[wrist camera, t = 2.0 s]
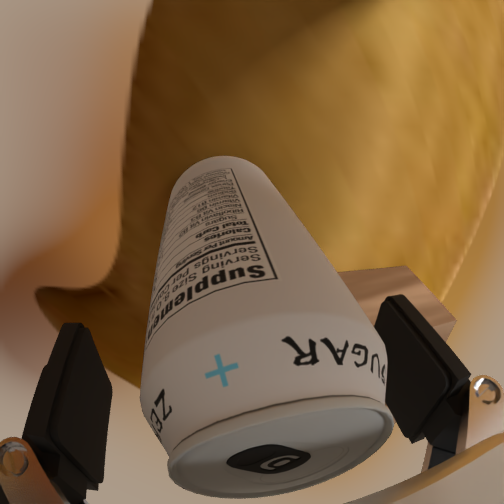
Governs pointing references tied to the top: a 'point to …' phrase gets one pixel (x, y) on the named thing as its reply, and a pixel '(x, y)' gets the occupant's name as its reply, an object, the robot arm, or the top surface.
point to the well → (394, 283)
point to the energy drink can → (255, 344)
